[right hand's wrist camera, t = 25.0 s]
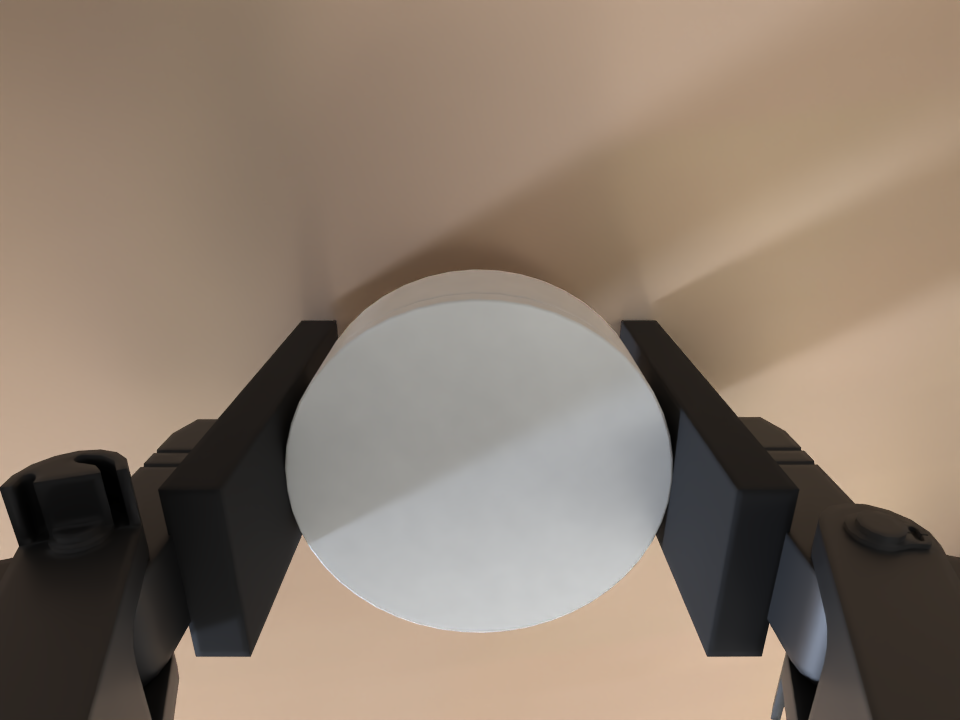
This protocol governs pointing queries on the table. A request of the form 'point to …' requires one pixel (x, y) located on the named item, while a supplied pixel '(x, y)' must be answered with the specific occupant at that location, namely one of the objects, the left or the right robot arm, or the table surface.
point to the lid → (479, 454)
